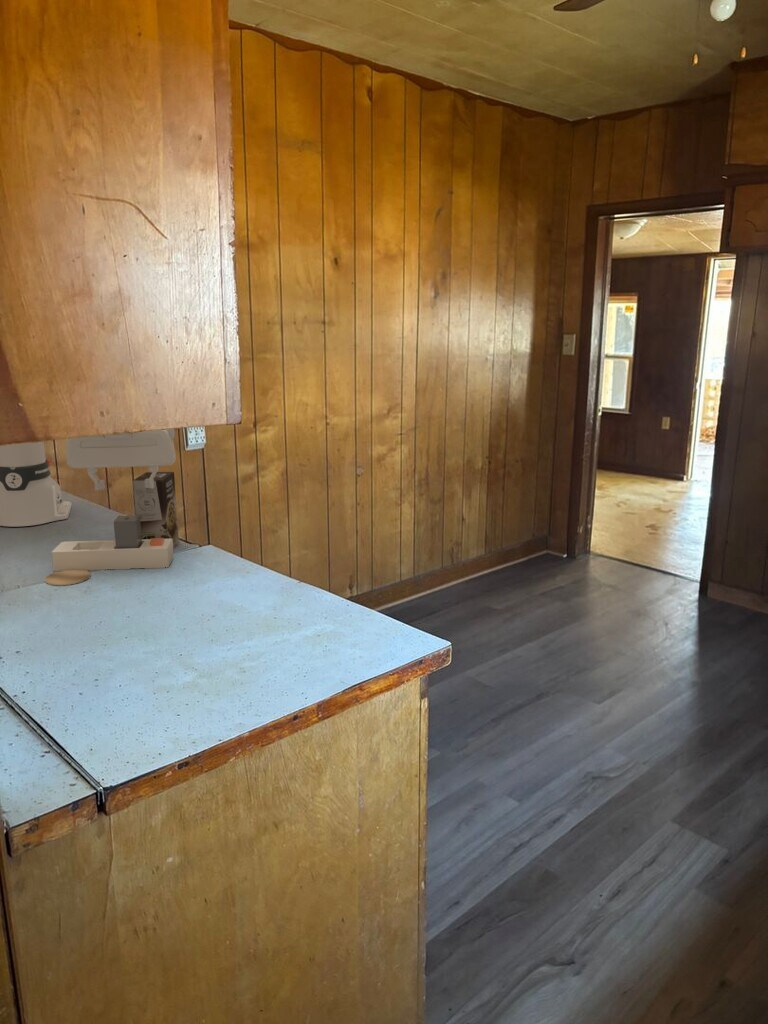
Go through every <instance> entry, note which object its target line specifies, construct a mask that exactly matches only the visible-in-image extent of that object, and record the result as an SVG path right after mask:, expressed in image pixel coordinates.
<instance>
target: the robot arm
mask: <svg viewBox="0 0 768 1024" xmlns="http://www.w3.org/2000/svg"><path fill="white" fill-rule="evenodd" d="M175 437H176V430H175V427H174V429H165V430H152V431H143V432H137V433H123V434H113V435H103V436H91V437H81V438H71V439H67V438H66V441H65V459H66V464H67V465H68V466H69V468H71V469H86V472H87V475H88V476H89V477H90V479H91V480H92V481H93V482H94V490H95V491H104V490H105V488H106V485H105V483H106V482H105V479H100V477H99V476H98V475H97V472H98V469H100V468H131V467H132V468H133V467H134V468H135V467H136V468H137V467H138V468H139V467H148V470H149V472H152V474H151V476H150V478H149V479H145V480H144V483H145V489H153V488H154V477H155V475H156V473H157V472H159V467H165V466H167V467H169V466H173V464H174V463H175V462H176V458H177V455H176V449H175V443H174V439H175ZM51 465H52V462H51V460H50V458H47V459H46V451H45V443H44V442H38V443H27V444H18V445H6V446H0V527H2V526H3V527H13V528H14V527H15V528H16V527H28V526H29V527H30V526H38V525H43V524H48V523H50V522H56V521H62V520H68V519H69V515H70V513H71V511H72V510H71V509H72V507H73V505H72V504H73V503H72V502H71V501H67V500H63V499H62V491H61V485H60V484H59V483H58V482H57V481H55V479H54V478H52V476H51V470H50V469H51V468H50V467H51Z"/></svg>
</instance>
